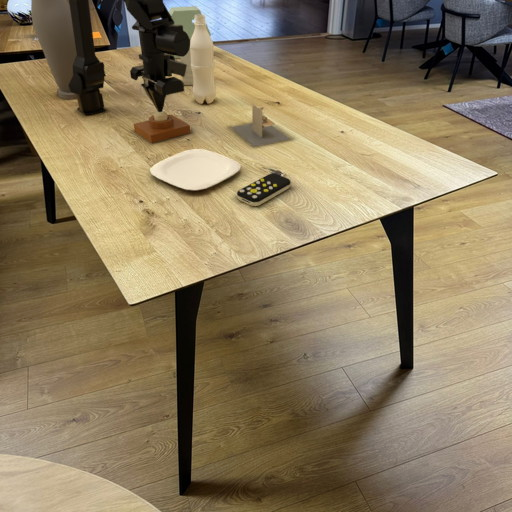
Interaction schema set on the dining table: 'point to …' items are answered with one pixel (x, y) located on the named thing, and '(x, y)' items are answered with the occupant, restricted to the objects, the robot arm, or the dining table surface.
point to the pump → (160, 116)
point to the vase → (56, 40)
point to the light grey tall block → (187, 69)
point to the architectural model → (259, 130)
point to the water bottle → (202, 62)
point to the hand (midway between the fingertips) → (160, 111)
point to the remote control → (263, 189)
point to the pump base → (161, 128)
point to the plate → (195, 169)
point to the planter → (185, 19)
